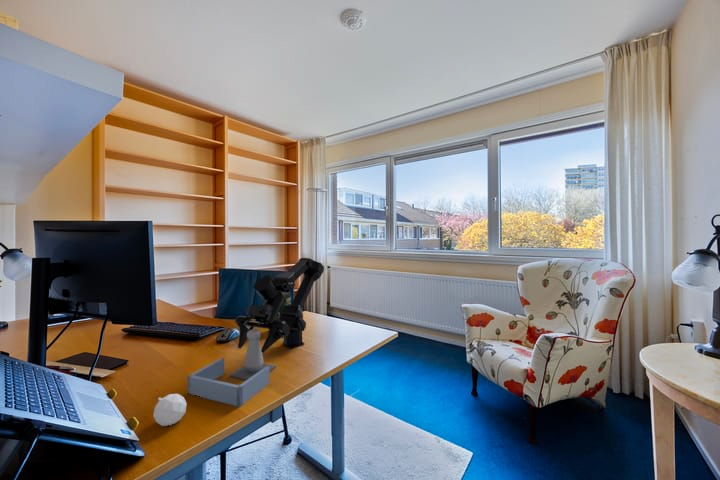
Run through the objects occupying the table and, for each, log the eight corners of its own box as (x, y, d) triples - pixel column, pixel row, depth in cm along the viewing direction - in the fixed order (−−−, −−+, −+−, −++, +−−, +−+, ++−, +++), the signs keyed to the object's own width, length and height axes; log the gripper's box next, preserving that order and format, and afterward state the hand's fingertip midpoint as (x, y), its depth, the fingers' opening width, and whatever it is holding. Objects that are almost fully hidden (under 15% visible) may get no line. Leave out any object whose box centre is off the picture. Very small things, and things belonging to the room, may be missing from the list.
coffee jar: (279, 326, 139) (279, 287, 138) (294, 328, 137) (293, 288, 136) (266, 333, 130) (266, 291, 129) (282, 335, 127) (282, 292, 127)
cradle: (222, 373, 94) (221, 357, 94) (269, 383, 88) (269, 366, 88) (187, 393, 82) (187, 376, 82) (239, 406, 76) (239, 388, 76)
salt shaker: (243, 375, 91) (242, 334, 91) (245, 366, 97) (245, 328, 96) (262, 372, 93) (262, 332, 92) (264, 364, 98) (263, 326, 98)
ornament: (170, 434, 66) (147, 411, 64) (164, 430, 70) (142, 409, 69) (195, 407, 70) (174, 386, 69) (189, 406, 75) (169, 385, 74)
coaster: (251, 362, 101) (251, 361, 101) (275, 367, 98) (275, 365, 98) (229, 376, 92) (229, 374, 92) (256, 382, 88) (256, 380, 88)
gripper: (238, 292, 100) (212, 335, 90) (284, 296, 94) (263, 343, 84) (253, 309, 108) (232, 350, 98) (297, 314, 102) (279, 358, 92)
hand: (250, 350), depth 93 cm, fingers open, 9 cm apart
